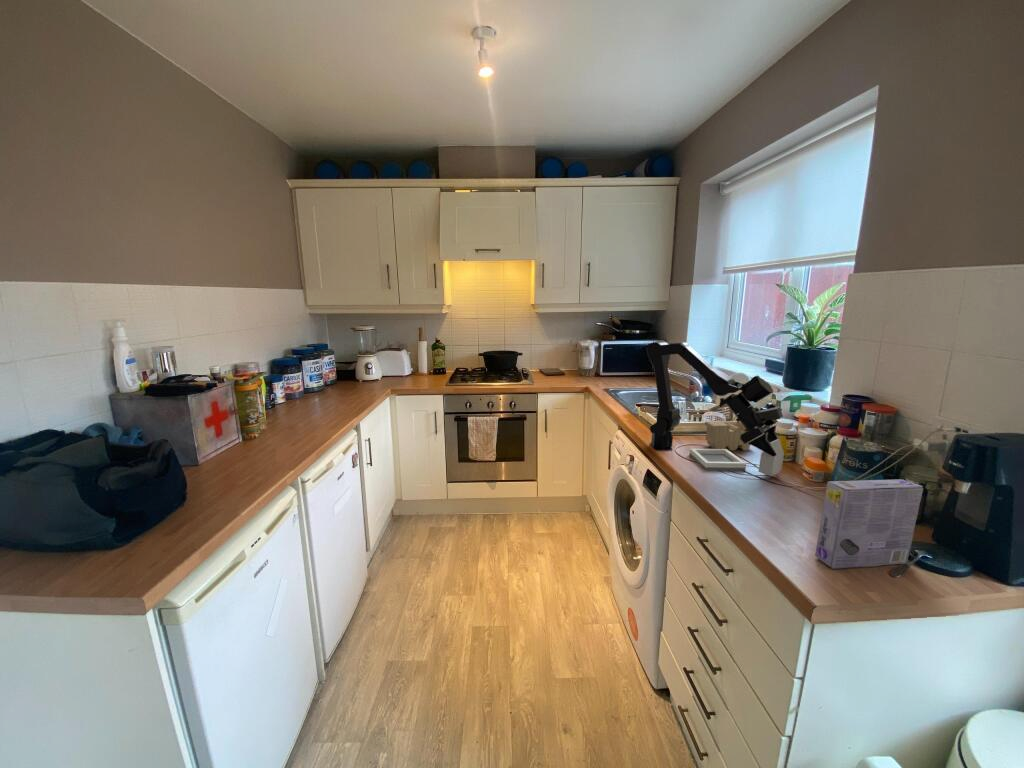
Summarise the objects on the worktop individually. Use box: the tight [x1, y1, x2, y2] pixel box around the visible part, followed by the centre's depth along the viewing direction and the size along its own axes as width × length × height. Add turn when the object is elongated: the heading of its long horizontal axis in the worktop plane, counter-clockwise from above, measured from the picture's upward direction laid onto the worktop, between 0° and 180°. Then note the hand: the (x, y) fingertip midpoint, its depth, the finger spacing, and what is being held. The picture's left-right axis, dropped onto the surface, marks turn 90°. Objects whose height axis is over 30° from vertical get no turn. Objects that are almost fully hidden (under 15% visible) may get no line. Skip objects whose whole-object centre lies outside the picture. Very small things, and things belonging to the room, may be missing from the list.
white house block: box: [758, 438, 785, 477], centre depth 126 cm, size 4×7×10 cm, turn 125°
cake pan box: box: [814, 478, 924, 570], centre depth 85 cm, size 19×5×18 cm, turn 97°
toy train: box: [704, 420, 752, 451], centre depth 151 cm, size 6×17×10 cm, turn 95°
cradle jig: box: [688, 448, 747, 472], centre depth 138 cm, size 13×13×2 cm
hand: (778, 452), depth 125 cm, fingers closed on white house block, 7 cm apart
